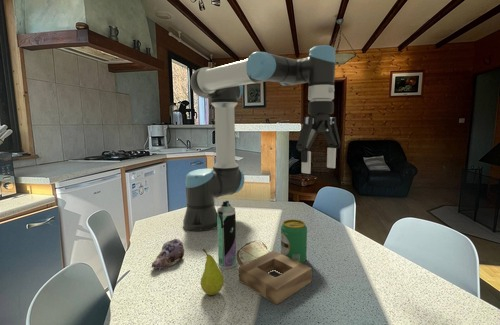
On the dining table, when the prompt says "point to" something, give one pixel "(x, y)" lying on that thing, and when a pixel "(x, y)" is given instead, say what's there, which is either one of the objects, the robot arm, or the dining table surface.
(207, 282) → the fruit
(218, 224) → the spray can
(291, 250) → the beverage can
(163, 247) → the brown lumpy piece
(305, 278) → the hole block
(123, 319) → the dining table surface
